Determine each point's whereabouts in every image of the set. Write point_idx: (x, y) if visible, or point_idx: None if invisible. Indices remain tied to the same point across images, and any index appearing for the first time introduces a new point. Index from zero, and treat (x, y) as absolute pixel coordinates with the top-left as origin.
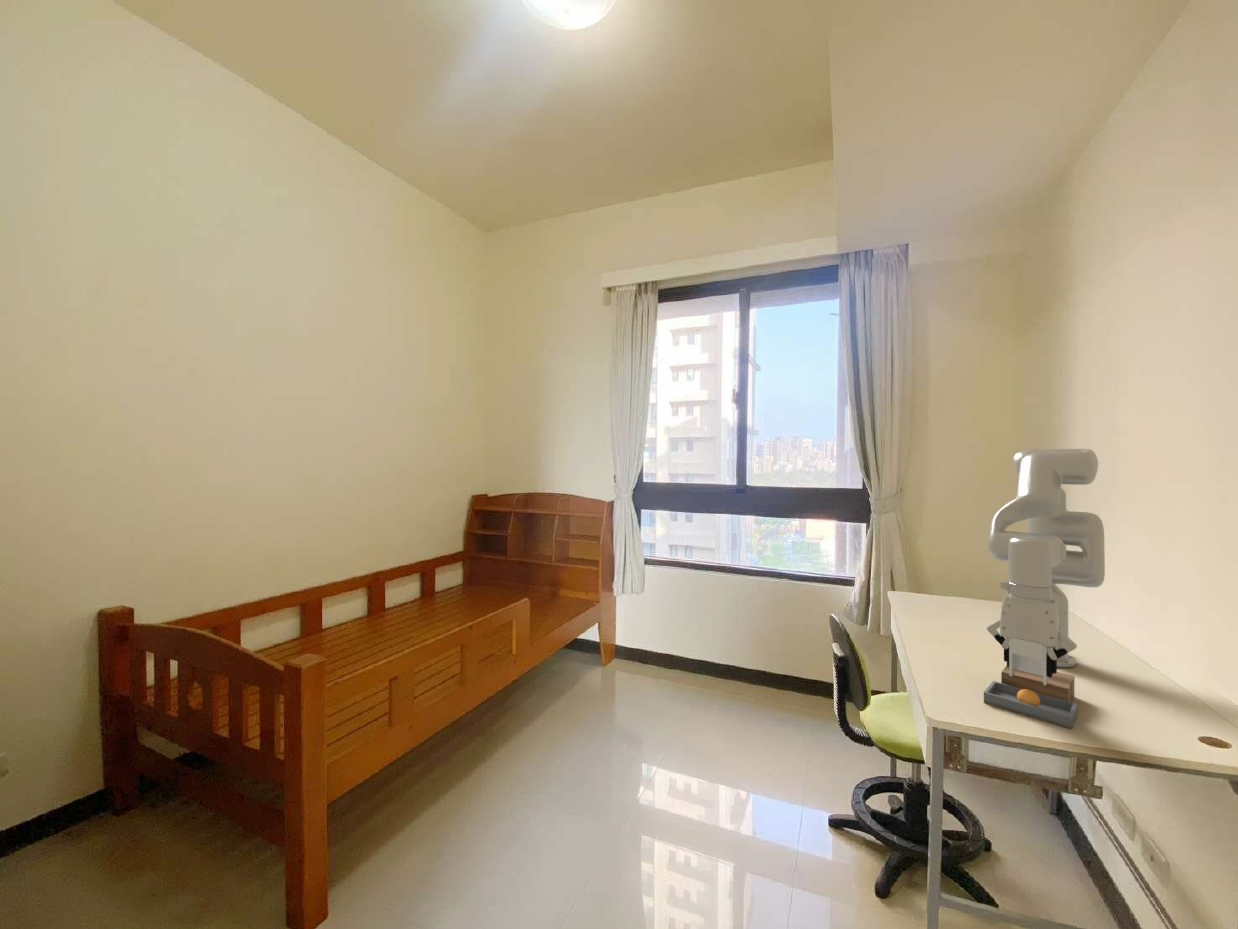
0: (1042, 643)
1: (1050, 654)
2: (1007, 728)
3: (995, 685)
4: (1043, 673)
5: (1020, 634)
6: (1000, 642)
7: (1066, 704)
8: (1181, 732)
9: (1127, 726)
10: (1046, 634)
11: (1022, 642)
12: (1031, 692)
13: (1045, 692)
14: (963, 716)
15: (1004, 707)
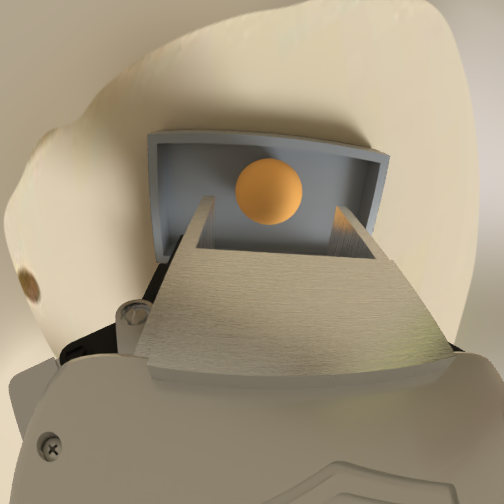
0: (156, 384)
1: None
2: (303, 15)
3: None
4: (205, 218)
5: (404, 432)
6: None
7: None
8: (52, 293)
9: (92, 259)
10: (84, 494)
11: (365, 346)
12: (260, 190)
13: None
14: (402, 29)
15: (326, 140)
